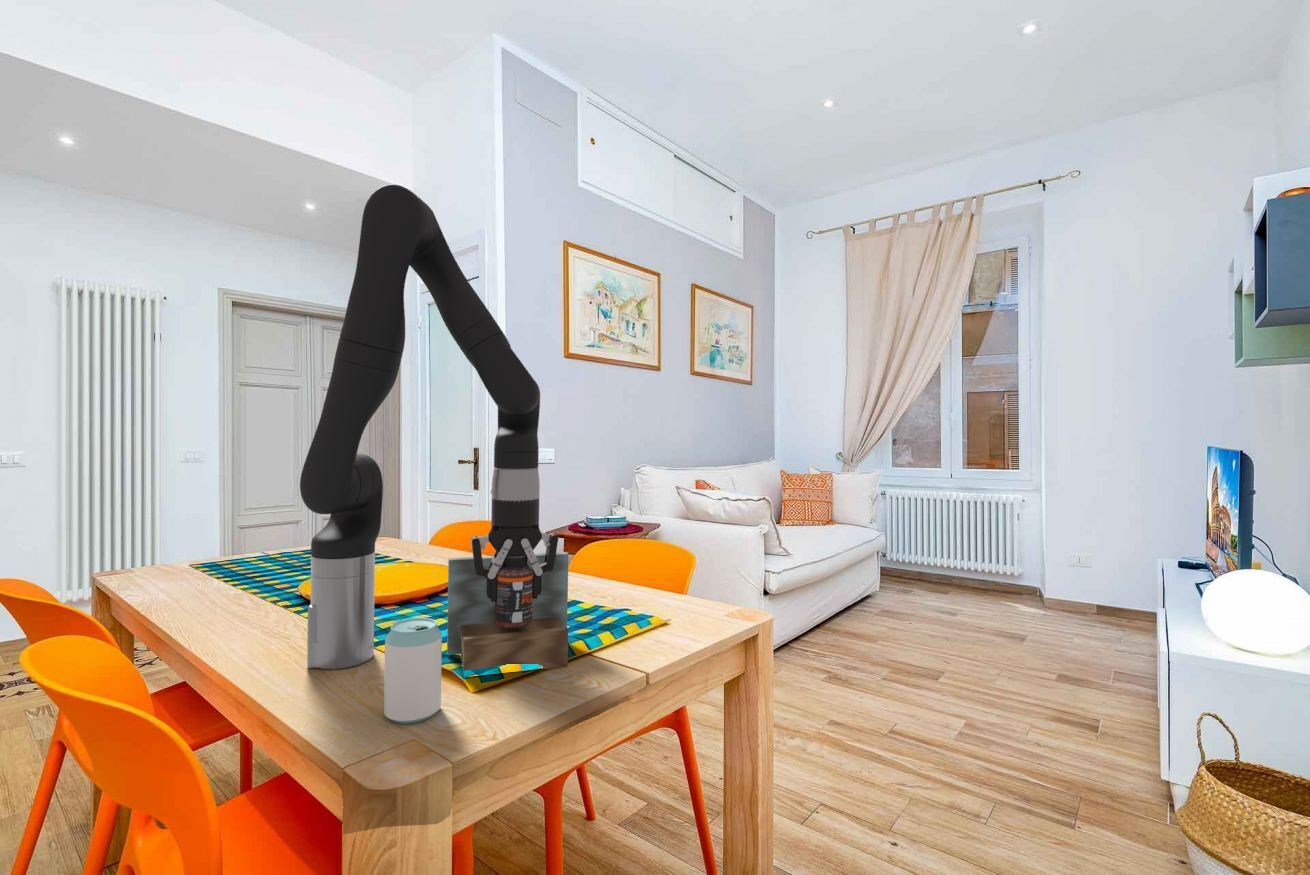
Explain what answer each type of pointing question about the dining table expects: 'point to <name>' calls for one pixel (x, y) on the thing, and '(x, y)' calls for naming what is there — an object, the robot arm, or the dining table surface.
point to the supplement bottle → (514, 593)
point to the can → (412, 670)
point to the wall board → (500, 646)
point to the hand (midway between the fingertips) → (514, 598)
